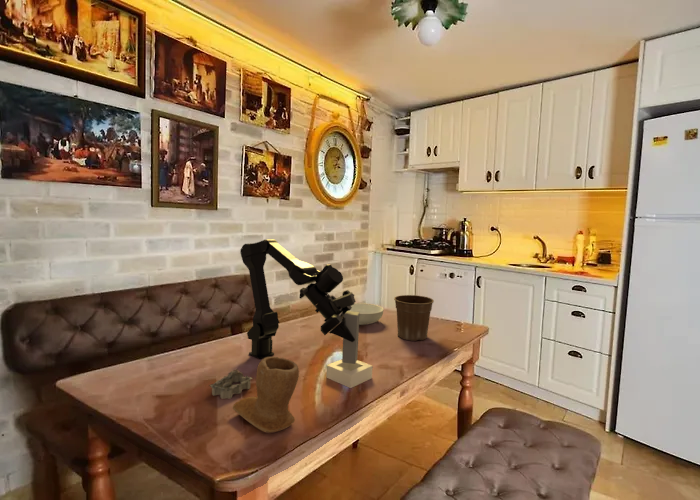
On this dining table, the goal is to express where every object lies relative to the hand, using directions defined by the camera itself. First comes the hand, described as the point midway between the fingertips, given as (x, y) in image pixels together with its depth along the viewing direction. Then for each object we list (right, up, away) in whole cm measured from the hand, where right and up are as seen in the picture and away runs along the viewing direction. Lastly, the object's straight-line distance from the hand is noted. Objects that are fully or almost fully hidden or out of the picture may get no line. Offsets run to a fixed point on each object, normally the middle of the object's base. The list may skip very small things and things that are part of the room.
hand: (355, 338), depth 119 cm
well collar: (-2, -12, +1) cm, 13 cm away
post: (-2, -7, +1) cm, 7 cm away
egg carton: (-35, -13, -10) cm, 38 cm away
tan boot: (-21, -14, -24) cm, 35 cm away
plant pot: (+24, -9, +45) cm, 52 cm away
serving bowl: (+3, -7, +63) cm, 64 cm away
